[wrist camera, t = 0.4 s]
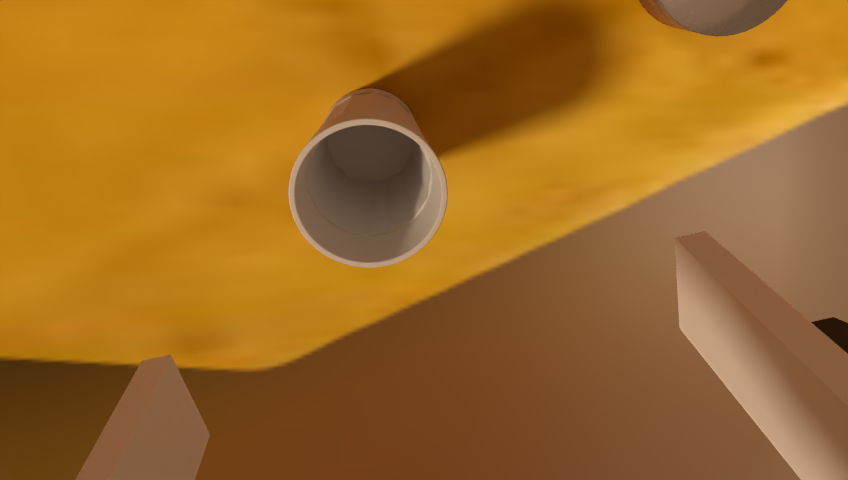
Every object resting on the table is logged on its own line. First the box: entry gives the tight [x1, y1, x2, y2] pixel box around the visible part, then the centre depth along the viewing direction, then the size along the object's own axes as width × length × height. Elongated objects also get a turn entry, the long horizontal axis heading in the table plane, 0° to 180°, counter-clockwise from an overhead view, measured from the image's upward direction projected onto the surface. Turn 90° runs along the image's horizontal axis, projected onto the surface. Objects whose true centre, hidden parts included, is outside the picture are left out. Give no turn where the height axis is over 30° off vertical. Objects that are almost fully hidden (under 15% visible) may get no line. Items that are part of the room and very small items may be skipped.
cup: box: [289, 88, 448, 267], centre depth 37 cm, size 8×8×12 cm
